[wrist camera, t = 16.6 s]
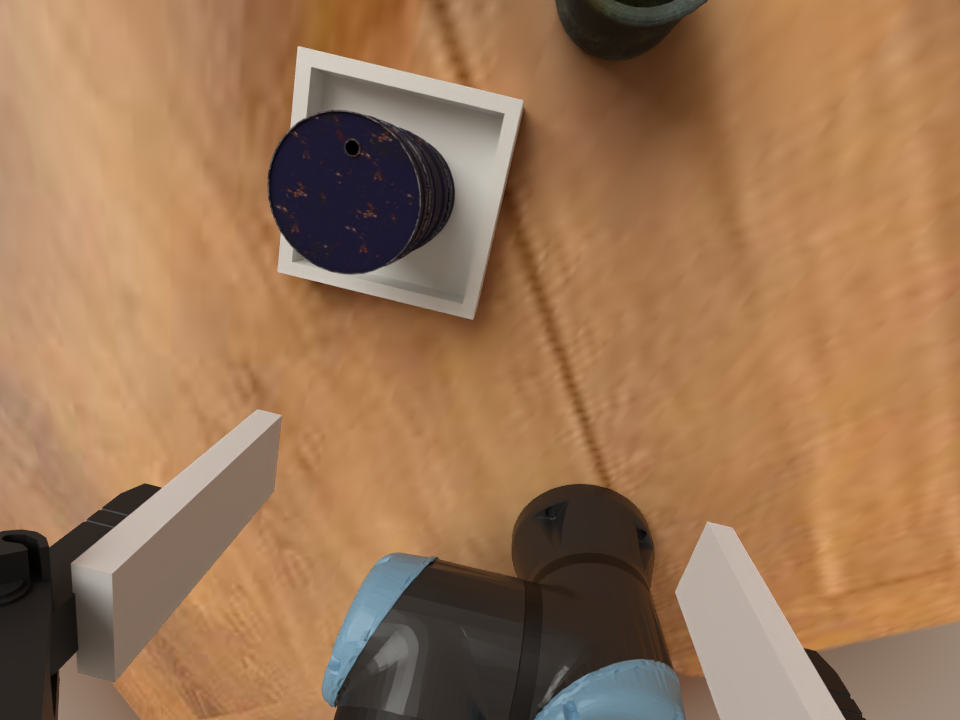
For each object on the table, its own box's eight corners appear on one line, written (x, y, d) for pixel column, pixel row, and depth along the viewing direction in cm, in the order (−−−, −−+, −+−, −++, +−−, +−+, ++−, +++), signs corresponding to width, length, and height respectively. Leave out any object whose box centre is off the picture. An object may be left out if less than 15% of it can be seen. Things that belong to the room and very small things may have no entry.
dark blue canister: (440, 262, 47) (402, 296, 33) (338, 231, 47) (256, 252, 33) (469, 150, 44) (440, 134, 30) (359, 116, 44) (277, 85, 30)
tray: (477, 309, 49) (472, 320, 45) (296, 265, 49) (277, 272, 46) (524, 107, 43) (523, 100, 39) (318, 58, 43) (297, 45, 40)
